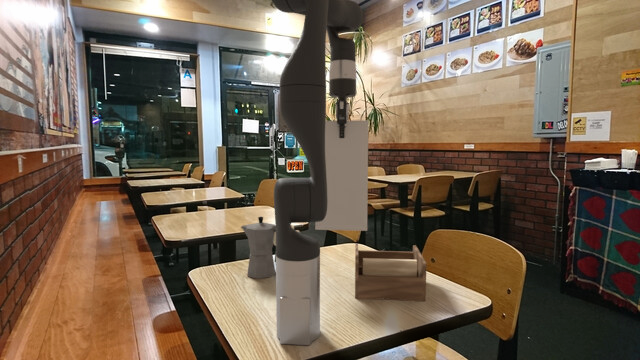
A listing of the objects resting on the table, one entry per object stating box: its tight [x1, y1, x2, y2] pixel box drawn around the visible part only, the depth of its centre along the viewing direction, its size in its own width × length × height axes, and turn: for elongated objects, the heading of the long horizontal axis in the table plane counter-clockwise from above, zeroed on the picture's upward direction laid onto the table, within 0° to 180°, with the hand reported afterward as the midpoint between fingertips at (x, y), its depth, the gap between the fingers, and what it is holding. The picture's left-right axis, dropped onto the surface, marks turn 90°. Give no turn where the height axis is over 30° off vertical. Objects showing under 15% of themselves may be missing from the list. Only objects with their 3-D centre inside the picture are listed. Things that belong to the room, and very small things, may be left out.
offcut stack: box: [363, 258, 417, 277], centre depth 96 cm, size 4×14×10 cm, turn 84°
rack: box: [354, 243, 428, 302], centre depth 100 cm, size 16×18×10 cm
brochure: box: [314, 119, 369, 232], centre depth 100 cm, size 14×6×30 cm, turn 85°
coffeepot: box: [240, 216, 276, 280], centre depth 110 cm, size 15×9×18 cm, turn 78°
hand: (342, 140), depth 101 cm, fingers closed on brochure, 5 cm apart
